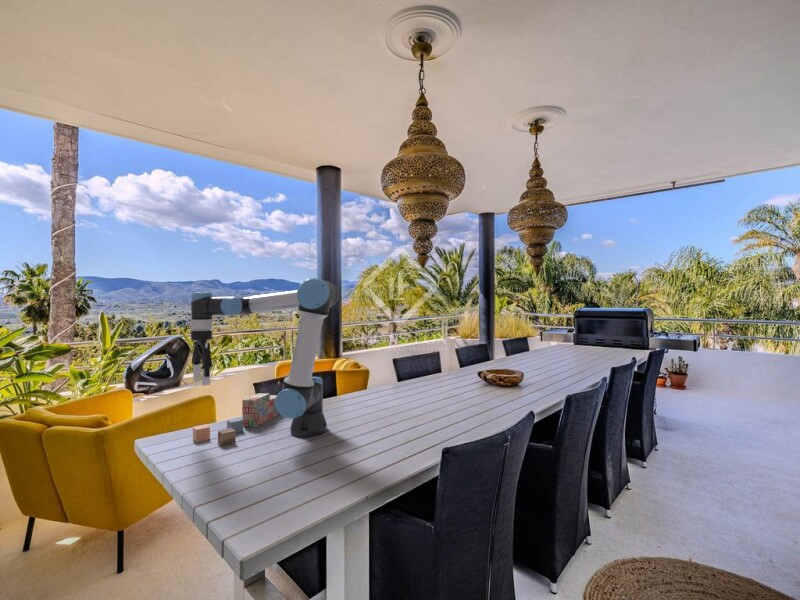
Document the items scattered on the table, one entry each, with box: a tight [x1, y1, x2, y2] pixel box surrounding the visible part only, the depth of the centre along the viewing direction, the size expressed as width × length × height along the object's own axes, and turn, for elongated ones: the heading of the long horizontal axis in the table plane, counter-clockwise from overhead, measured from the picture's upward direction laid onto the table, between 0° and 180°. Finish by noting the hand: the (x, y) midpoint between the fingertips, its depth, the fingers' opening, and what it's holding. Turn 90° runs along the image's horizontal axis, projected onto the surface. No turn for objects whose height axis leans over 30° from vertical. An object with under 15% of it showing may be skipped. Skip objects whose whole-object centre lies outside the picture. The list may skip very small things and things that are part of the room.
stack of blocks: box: [241, 392, 280, 428], centre depth 170 cm, size 21×6×12 cm, turn 167°
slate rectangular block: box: [226, 417, 244, 434], centre depth 154 cm, size 5×5×5 cm
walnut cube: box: [217, 427, 237, 447], centre depth 140 cm, size 5×5×5 cm
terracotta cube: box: [192, 423, 211, 443], centre depth 145 cm, size 5×5×5 cm
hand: (201, 382), depth 145 cm, fingers open, 13 cm apart
